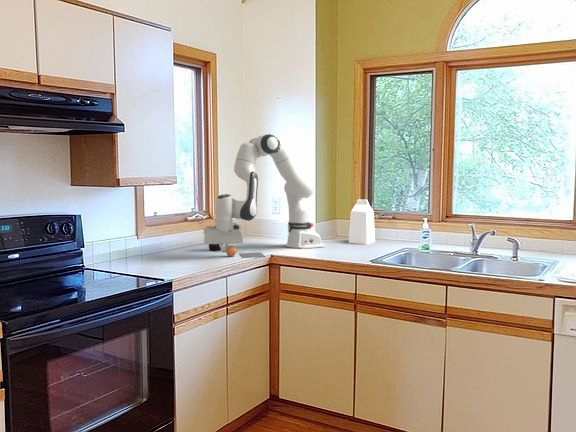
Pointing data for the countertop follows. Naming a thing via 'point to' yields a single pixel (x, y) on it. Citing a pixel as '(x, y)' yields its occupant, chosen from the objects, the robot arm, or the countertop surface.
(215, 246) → the coffee mug
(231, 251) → the ball
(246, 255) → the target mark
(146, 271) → the countertop surface
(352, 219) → the milk
